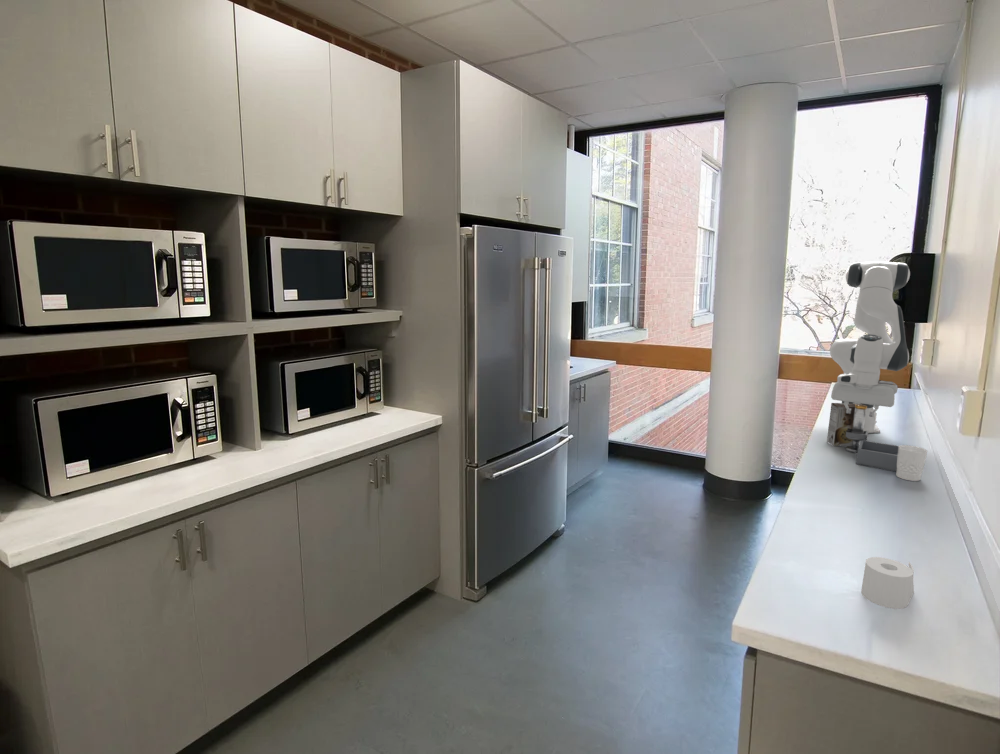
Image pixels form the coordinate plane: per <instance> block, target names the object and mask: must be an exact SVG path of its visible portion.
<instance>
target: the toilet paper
mask: <svg viewBox="0 0 1000 754" xmlns="http://www.w3.org/2000/svg"><path fill="white" fill-rule="evenodd" d="M864 564H865V565H864V570H863V577H862V584H861V591H860V593H861V595H862V596H863V597H864V598H865V599H866V600H867V601H869V602H871V603H872V604H875V605H877V606H881V607H884V608H888V609H894V610H898V609H899V610H902V609H905V608H907V607H908V606H909V603H910V602H911V599H912V597H913V595H914V594H915V593H914V592H915V590H914V589H915V588H914V586H915V585H914V572H915V569H914V567H913V564H912V563H911V562H910V561H908V566H907V565H906V564H904V563H902V562H901V561H897V560H894V559H891V558H886V557H882V556H881V557H879V556H871V557H868V558H867V559H865V563H864Z"/></svg>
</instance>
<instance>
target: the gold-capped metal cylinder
mask: <svg viewBox="0 0 1000 754" xmlns="http://www.w3.org/2000/svg"><path fill="white" fill-rule="evenodd" d="M866 409H867V406H866V405H861V404H856V405H855V413H854V420H853V427H852V430H851V432H852V433H859V434H864V432H863V429H864V422H865V415H866Z"/></svg>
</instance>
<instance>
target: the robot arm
mask: <svg viewBox="0 0 1000 754" xmlns="http://www.w3.org/2000/svg"><path fill="white" fill-rule="evenodd" d="M910 276H911V271H910V267H909V266H908V264H907V263H904V262H900V261H898V262H894V261H893V262H892V261H880V260H879V261H864V262H863V261H862V262H861V261H856V262H853V263H851V264H849V266H848V268H847V270H846V271H845V281H846V284H847V285H848V286H849V287H851V288H859V293H858V295H857V296H858V298H857V301H856V307H855V313H854V320H853V323H854V326H855V327H856V328H857V329H858V330H860V331H862V332H864V333H866V334H861V335H859V336H858V338H840V339H836V340H835V341H834V342H833V343H832V344H831V346H830V349H829V353H830V357H831V359H832V360H833V361H834V363H837V365H839V367H840V368H841V370H842V371H843V373H841V374H839V375H838V376H837V381H836V382H835V383H834V385H833V387H832V390H831V394H830V395H831V397H830V398H831V400H833V401H840V402H841V403H844V405H845V407H846V409H847V410H846V413H848V414H851V408H849V407H848V405H847V404H849V403H851V404H861V405H866V406H867V409H866V415H865V422H864V429H863V431H869V432H868V434H870V433H871V434H872V433H873V434H874V433H878V434H879V433H881V429H880V428H879V427H878V426H877V423H878V422H877V411H878V409H879V408H880V407H886V408H888V407H889V408H892V407H894V406H895V398H896V396H895V394H897V392H898V384H896V383H895V382H893V381H888V380H887V381H886V380H880V375H881V369H882V370H887V371H892V372H893V371H894V372H897V371H901V370H903V369H904V368H906V367H907V366H908V363H909V360H910V353H909V349H908V346H907V340H906V329H905V322H904V314H903V310H902V307H901V306H900V305H898V304H897V303H896V302H895V301H894V297H893V293H896V291H897V290H900V289H902V288H903V287H905V286H906V285H907V283H908V281H909V280H910V278H911V277H910ZM886 323H887V324H888V325H889V326H890V329H891V331H890V332H891V337H890V335H889V334H888V331H887V326H886Z"/></svg>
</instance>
